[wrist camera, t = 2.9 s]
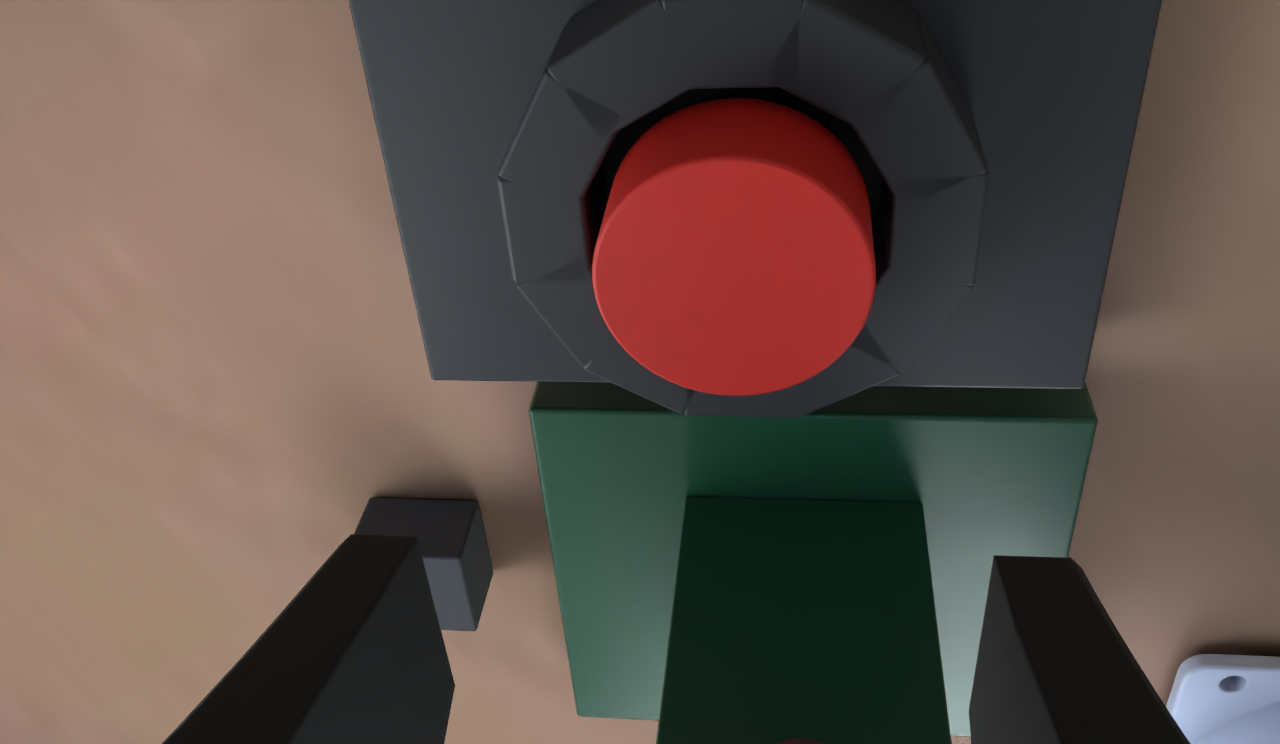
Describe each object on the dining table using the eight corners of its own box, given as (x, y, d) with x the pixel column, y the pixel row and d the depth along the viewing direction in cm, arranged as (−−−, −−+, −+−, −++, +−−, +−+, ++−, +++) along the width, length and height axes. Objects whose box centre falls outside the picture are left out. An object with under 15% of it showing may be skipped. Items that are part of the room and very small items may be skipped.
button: (876, 93, 15) (885, 154, 13) (863, 326, 17) (869, 400, 15) (598, 98, 15) (577, 157, 14) (620, 324, 17) (603, 395, 16)
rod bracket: (584, 675, 27) (503, 1109, 20) (538, 370, 22) (405, 810, 15) (1021, 696, 26) (1108, 1169, 19) (1086, 377, 21) (1244, 864, 13)
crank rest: (478, 499, 24) (459, 558, 23) (493, 572, 26) (476, 632, 24) (369, 496, 25) (344, 554, 23) (389, 568, 26) (366, 627, 24)
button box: (1156, -163, 15) (1235, -89, 13) (1065, 331, 20) (1107, 464, 17) (363, -127, 17) (277, -53, 14) (453, 326, 22) (402, 448, 19)
